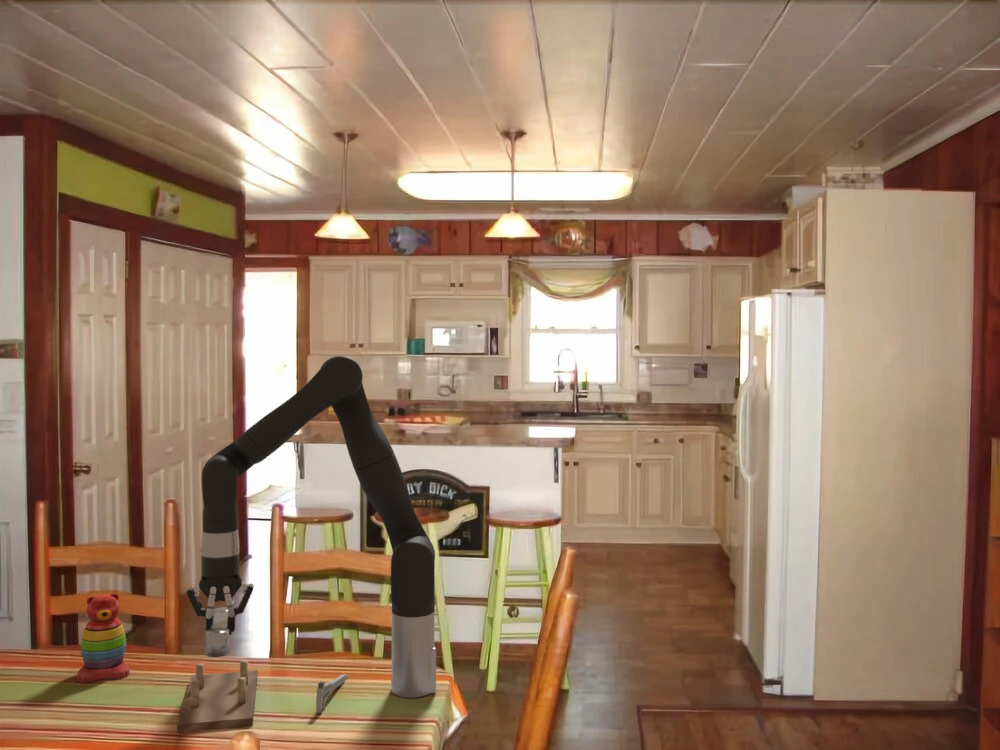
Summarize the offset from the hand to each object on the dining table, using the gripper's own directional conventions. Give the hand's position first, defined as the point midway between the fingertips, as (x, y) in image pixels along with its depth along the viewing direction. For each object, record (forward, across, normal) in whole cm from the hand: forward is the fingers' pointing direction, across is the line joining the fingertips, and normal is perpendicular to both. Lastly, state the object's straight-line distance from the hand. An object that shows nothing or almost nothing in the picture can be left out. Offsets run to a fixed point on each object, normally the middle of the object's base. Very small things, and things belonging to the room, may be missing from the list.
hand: (220, 634), depth 182 cm
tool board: (+14, 0, 0) cm, 14 cm away
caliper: (+15, -23, +1) cm, 27 cm away
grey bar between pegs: (+2, 0, 0) cm, 2 cm away
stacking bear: (+15, +27, -23) cm, 38 cm away
